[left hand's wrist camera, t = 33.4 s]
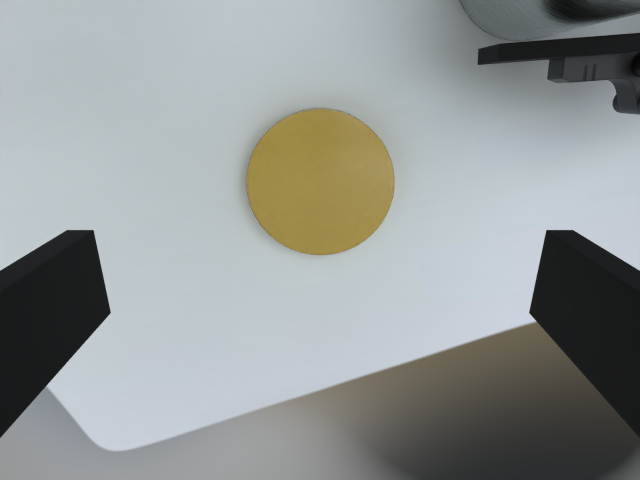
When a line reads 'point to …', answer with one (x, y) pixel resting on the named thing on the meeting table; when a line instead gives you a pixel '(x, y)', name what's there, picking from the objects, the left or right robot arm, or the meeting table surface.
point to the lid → (320, 181)
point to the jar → (543, 15)
